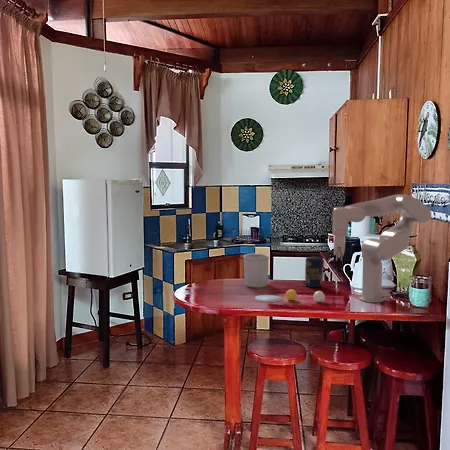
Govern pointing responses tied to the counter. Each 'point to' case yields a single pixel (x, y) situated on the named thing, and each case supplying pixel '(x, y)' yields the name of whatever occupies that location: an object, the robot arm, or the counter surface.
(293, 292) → the object ball
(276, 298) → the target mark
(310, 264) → the blue cylindrical canister
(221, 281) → the counter surface
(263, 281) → the utensil holder
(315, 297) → the cue ball
